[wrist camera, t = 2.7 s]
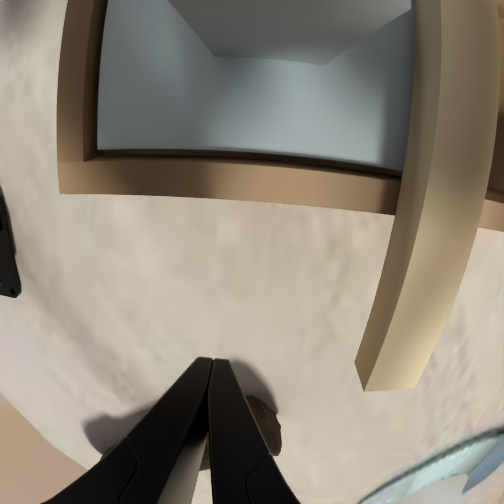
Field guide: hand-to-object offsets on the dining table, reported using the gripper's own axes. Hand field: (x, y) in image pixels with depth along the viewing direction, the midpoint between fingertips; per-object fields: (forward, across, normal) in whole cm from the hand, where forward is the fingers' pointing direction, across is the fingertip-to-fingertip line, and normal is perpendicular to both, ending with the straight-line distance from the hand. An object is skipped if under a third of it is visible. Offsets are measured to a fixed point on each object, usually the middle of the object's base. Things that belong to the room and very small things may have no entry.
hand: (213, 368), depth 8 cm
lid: (+4, -1, -10) cm, 10 cm away
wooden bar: (+2, -6, -7) cm, 9 cm away
